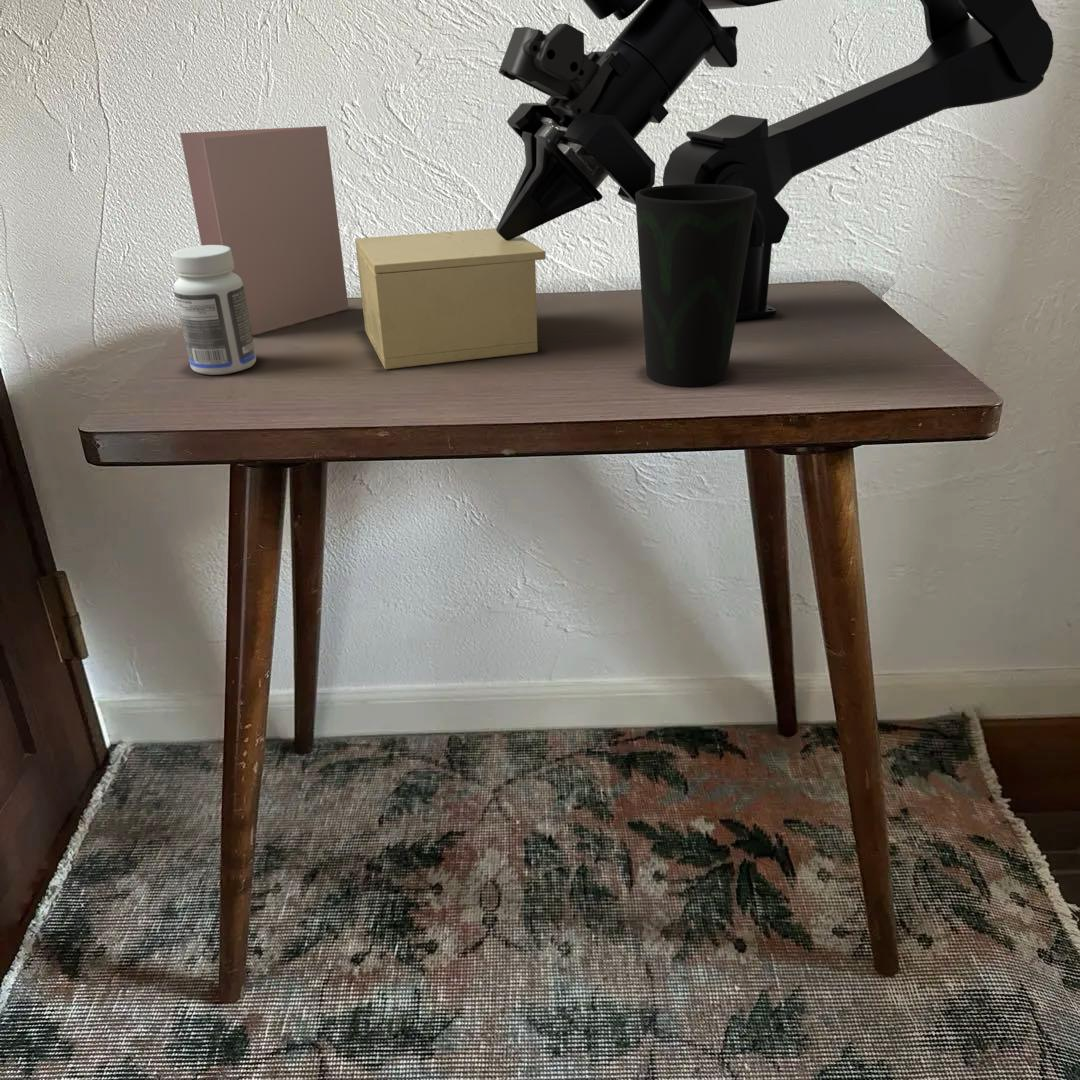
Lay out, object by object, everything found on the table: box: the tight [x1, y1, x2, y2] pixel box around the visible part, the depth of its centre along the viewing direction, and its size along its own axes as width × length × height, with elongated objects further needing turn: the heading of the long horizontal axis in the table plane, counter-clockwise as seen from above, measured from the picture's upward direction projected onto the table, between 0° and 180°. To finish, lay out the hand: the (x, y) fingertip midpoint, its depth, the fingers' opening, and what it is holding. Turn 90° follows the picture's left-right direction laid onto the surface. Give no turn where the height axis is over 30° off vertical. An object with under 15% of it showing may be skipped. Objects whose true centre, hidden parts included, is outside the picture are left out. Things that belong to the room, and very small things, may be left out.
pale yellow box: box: [355, 246, 539, 370], centre depth 72 cm, size 12×11×7 cm
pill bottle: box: [171, 245, 257, 376], centre depth 68 cm, size 5×5×8 cm
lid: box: [354, 227, 547, 274], centre depth 70 cm, size 12×11×1 cm
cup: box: [635, 184, 757, 388], centre depth 62 cm, size 8×8×12 cm
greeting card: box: [179, 125, 350, 336], centre depth 77 cm, size 11×7×15 cm, turn 105°
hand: (501, 236), depth 71 cm, fingers closed
